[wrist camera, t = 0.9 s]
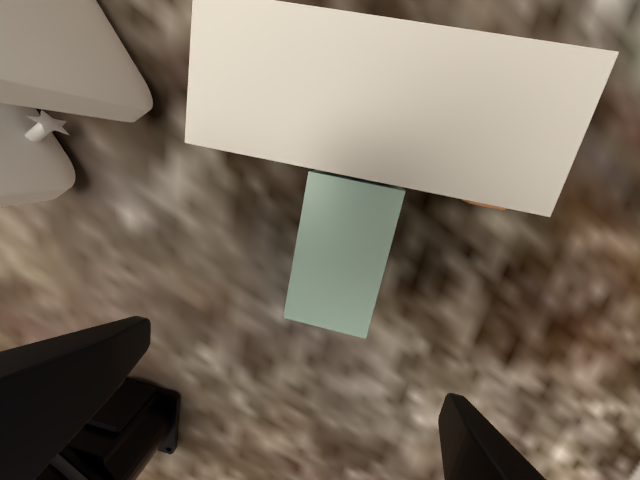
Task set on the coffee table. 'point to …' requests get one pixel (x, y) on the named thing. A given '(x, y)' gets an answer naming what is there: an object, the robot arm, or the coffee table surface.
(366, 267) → the charger
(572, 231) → the coffee table surface
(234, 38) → the bar
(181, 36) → the coffee table surface
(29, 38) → the cable organizer
